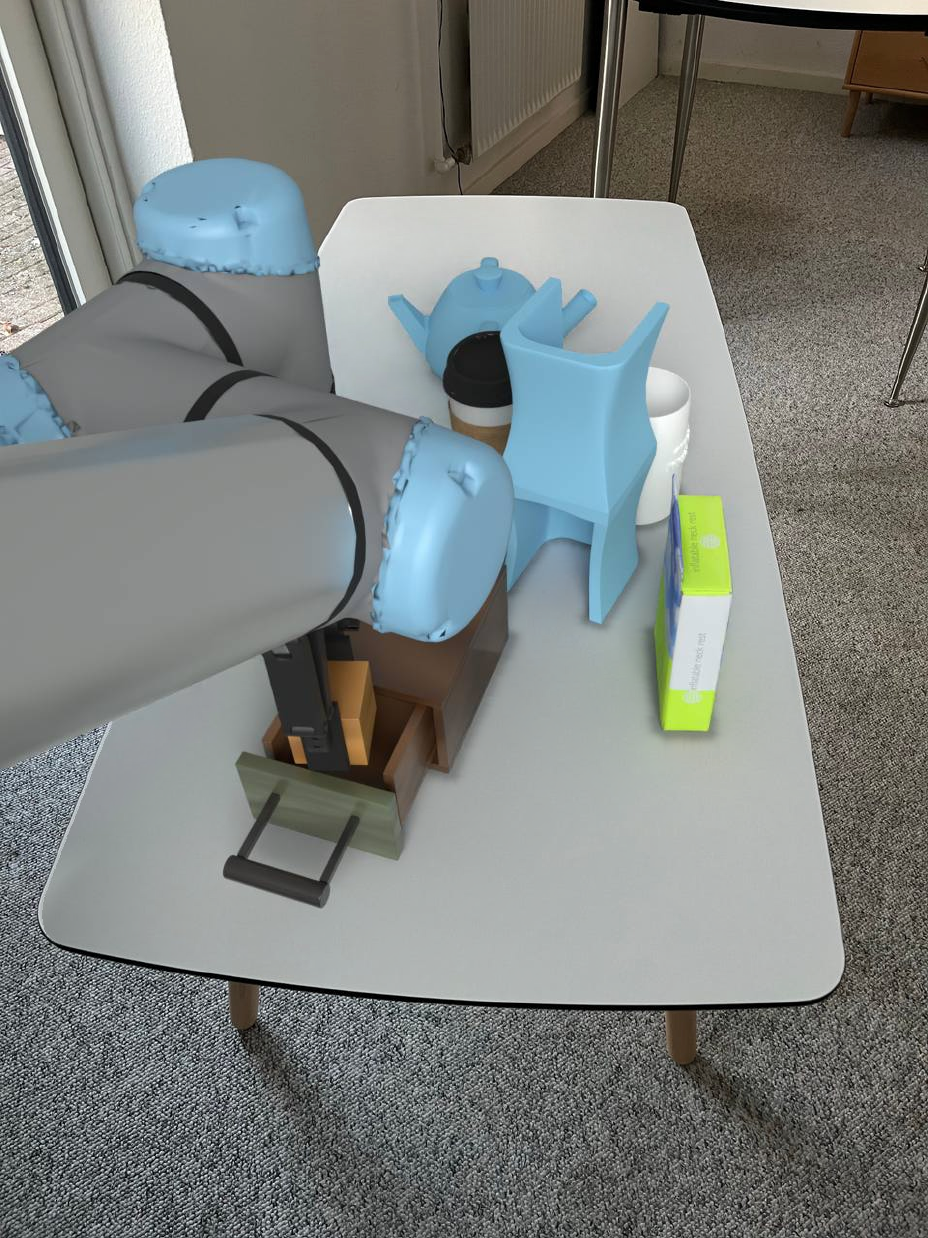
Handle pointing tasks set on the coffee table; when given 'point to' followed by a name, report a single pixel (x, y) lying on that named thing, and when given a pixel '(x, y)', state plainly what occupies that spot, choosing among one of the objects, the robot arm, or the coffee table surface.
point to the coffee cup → (480, 389)
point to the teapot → (476, 310)
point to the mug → (664, 442)
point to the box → (692, 611)
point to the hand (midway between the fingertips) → (335, 732)
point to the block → (349, 709)
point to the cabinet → (440, 669)
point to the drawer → (335, 798)
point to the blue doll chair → (577, 443)
